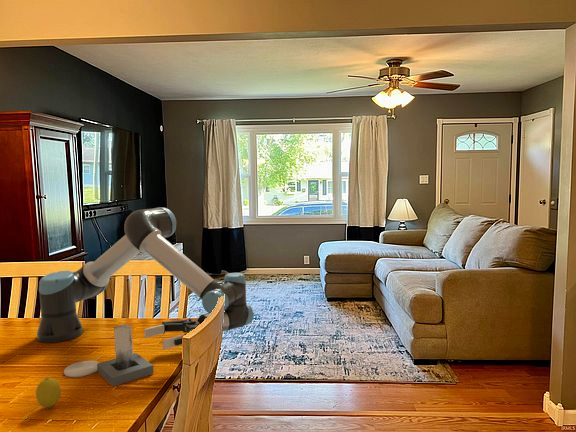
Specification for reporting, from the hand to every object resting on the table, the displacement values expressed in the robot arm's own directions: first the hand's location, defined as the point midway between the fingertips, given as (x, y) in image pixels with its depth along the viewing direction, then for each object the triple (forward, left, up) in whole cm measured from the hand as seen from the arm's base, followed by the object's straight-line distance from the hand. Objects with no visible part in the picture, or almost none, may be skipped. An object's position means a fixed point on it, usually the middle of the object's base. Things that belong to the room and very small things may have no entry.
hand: (153, 339), depth 137 cm
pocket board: (0, -9, -8) cm, 12 cm away
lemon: (+7, -31, -8) cm, 33 cm away
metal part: (0, -9, -8) cm, 12 cm away
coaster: (-11, -18, -8) cm, 23 cm away
